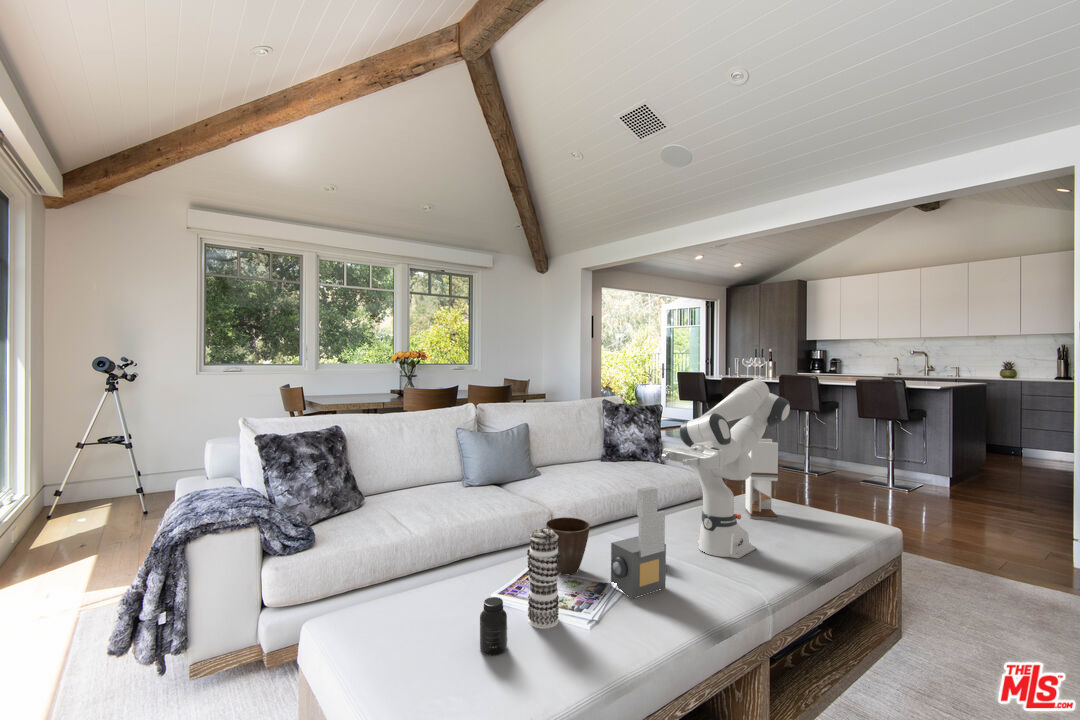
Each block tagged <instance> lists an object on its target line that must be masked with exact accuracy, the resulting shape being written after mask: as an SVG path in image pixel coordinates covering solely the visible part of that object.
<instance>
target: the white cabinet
mask: <svg viewBox="0 0 1080 720" xmlns="http://www.w3.org/2000/svg"><path fill="white" fill-rule="evenodd" d="M748 455H749V456H750V458H751V460H752V462H753V471H752V473H751V475H750V476H749V478H747V479H746V480H745V497H744V498H745V500H744V501H745V508H744V509H745V510H744V511H745V514H746V515H747V516H748V517H749V519H751V520H762V519H764V520H765V521H778V515H777V514H776V513H775V512H774V511H773V509H772V495H773V494H772V489H773V488H772V487H773V486H772V485H773V483H772V482H778V481H779V469H778V468H779V442H775V441H774V442H773V439H772V438H761V439H760V441H759V442H758V443H757V444H756V446H755V447H754V448H753V449H752V450H751V451H750V453H749V454H748Z"/></svg>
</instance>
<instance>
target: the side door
mask: <svg viewBox="0 0 1080 720" xmlns="http://www.w3.org/2000/svg"><path fill="white" fill-rule="evenodd" d="M636 494H637V497H636V498H637V500H636V505H637V507H636V508H637V509H636V511H637V513H636V515H637V517H638V536H639V545H638V556H639V557H644V556H647V555H651V554H655V553H659V552H662V551H665V544H666V543H665V535H666V533H665V532H666V531H665V530H666V529H665V528H666V523H665V522H666V512H665V511H664V510H659V511H658V488H657V487H654V486H646V487H642V488H637V491H636Z"/></svg>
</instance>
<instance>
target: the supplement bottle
mask: <svg viewBox="0 0 1080 720" xmlns="http://www.w3.org/2000/svg"><path fill="white" fill-rule="evenodd" d="M507 615H508V614H507V612H506V611H505V609H504V601H503V599H502V598H501V597H497V596H496V597H495V596H491V597H487V598H486V599H484V601H483V610H482V611H481V612H480V615H479V649H480V651H481V652H482V653H483V654H484V655H487V656H498V655H501V654H503V653H505V651H506V650H507V647H508V616H507Z"/></svg>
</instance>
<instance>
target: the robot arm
mask: <svg viewBox="0 0 1080 720" xmlns="http://www.w3.org/2000/svg"><path fill="white" fill-rule="evenodd" d="M790 408H791V405H790V401H789V400H787V399H786V398H785V397H782V396H778V395H776V394H774V393H771V392H770V388H769V386H768V384H766V383H765V382H764V381H763V380H760V379H752V380H749V381H746V382H744V383H743V384H741V385H739V386H738V387H736V388H735V389H734V390H733V391H732V392H731V393H729V394H728V395H727V396H726V397H725V398H724V399H722V400H721V401H720V402H718V403H717V404H716V405H715V406H714V407H711V408H710V409H709V410H707V411H706V412H704V413H703V414H701V415H700V416H698V417H697V418H693V419H689V420H686V421H683V422H681V424H680V428H679V438H680V440H681V441H682V442H683V444H684V445H685V446H687V447H689V448H684V447H677V446H675V447H664V448H663V450H662V454H661V457H660V458H661V460H662V461H671V462H675V463H680V464H682V465H684V466H686V467H687V466H688V467H689V468H690V469H691V470H692V471H693V472H694V474H695V475H696V477H697V479H698V481H699V484H700V487H701V491H702V507H703V508H702V509H703V510H702V511H701V521H702V522H701V523H700V530H699V539H697V542H698V543H697V544H698V550H699V549H700V550H699V551H700V552H702V551H703V552H702V553H704V552H705V553H704V554H708V555H711V556H714V557H723V558H724V557H725V558H732V559H733V558H734V559H740V558H742V557H744V556H745V555H747V554H749V553H751V552H753V551H754V550H756V545H755V544H753V543H752V542H750V538H749V534H748V533H749V532H747V530H746V529H745V528H743V527H742V526H741V525H740V524H739V523H738V522H737V520H741V519H742V514H741V513H737V512H735V509H734V508H735V507H734V506H735V495H734V492H733V491H732V490H731V489H730V487H728V486H727V485H726V484H725V482H724V480H723V479H725V480H730V481H746V479H747V478H749V476H750V475H751V473H752V471H753V462H752V460H751V458H750V456H749V455H748V454H749V453H750V451H751V450H752V449H753V448H754V447H755V446H756V444H757V443H758V442H759V441H760V439H763V436H764V434H765V431H766V427H767V426H768V427H770V428H771V427H774V426H776V425H779V424H781V423H783V422H784V421H786V420H787V418H788V416H789V414H790V410H791V409H790ZM735 420H739V421H737V422H736V423H735V424H734V425H733V426H732V427H730V425H729V422H731V421H735Z"/></svg>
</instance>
